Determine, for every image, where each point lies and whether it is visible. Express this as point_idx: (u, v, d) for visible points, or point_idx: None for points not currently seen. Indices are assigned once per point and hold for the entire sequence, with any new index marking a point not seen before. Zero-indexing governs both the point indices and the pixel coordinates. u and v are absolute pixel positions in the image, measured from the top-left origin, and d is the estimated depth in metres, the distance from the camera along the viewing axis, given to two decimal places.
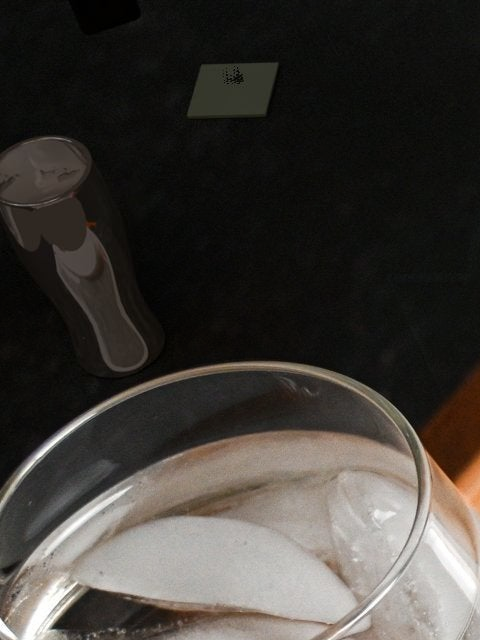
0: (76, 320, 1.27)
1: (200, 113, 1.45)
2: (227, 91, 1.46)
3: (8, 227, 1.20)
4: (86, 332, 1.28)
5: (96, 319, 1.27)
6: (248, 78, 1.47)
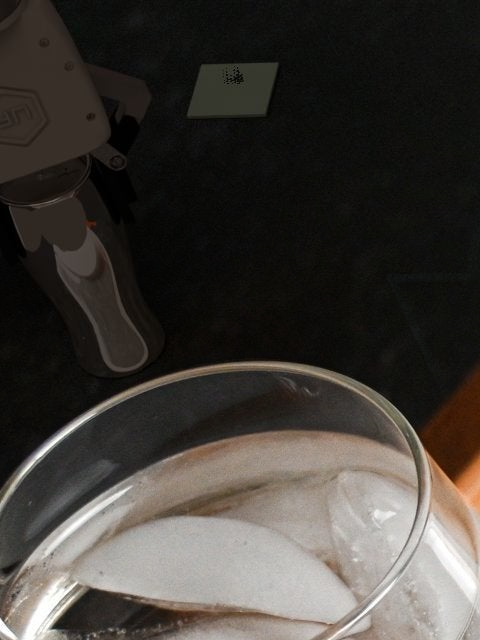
0: (76, 320, 1.27)
1: (200, 113, 1.45)
2: (227, 91, 1.46)
3: (8, 227, 1.20)
4: (86, 333, 1.28)
5: (97, 319, 1.27)
6: (248, 78, 1.47)
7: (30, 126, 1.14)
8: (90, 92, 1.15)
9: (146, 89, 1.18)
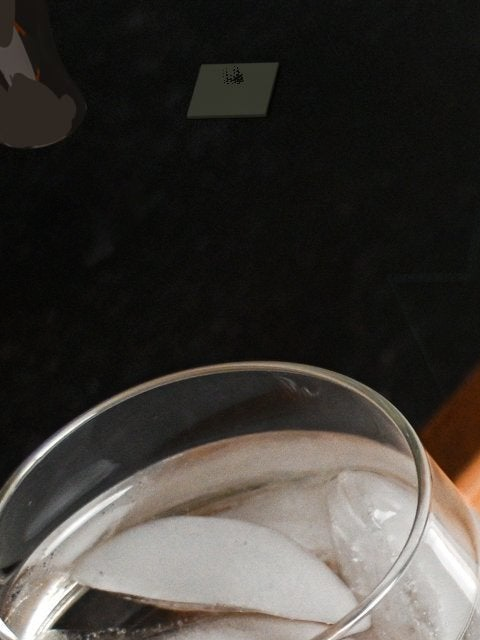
0: None
1: (200, 113, 1.45)
2: (227, 91, 1.46)
3: None
4: None
5: (6, 76, 1.14)
6: (248, 78, 1.47)
7: None
8: None
9: None
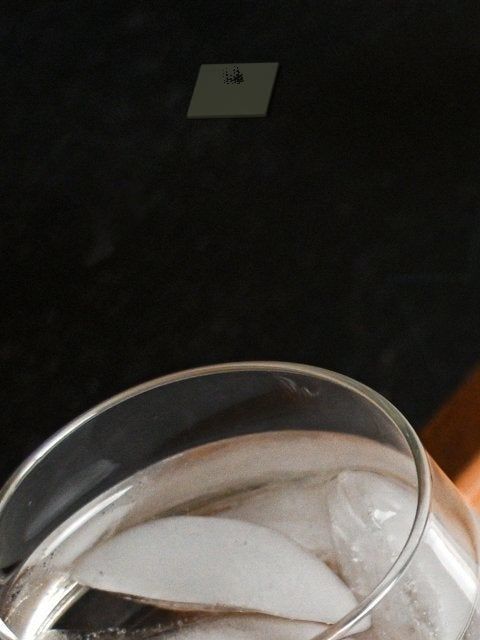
0: None
1: (200, 113, 1.45)
2: (227, 91, 1.46)
3: None
4: None
5: None
6: (248, 78, 1.47)
7: None
8: None
9: None
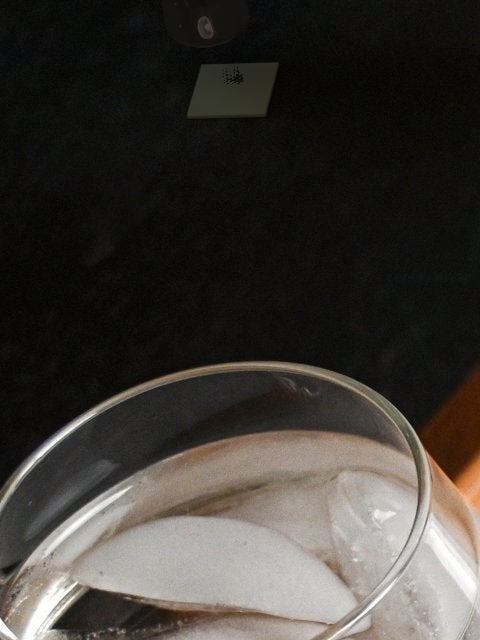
0: None
1: (200, 113, 1.45)
2: (227, 91, 1.46)
3: None
4: None
5: None
6: (248, 78, 1.47)
7: None
8: None
9: None
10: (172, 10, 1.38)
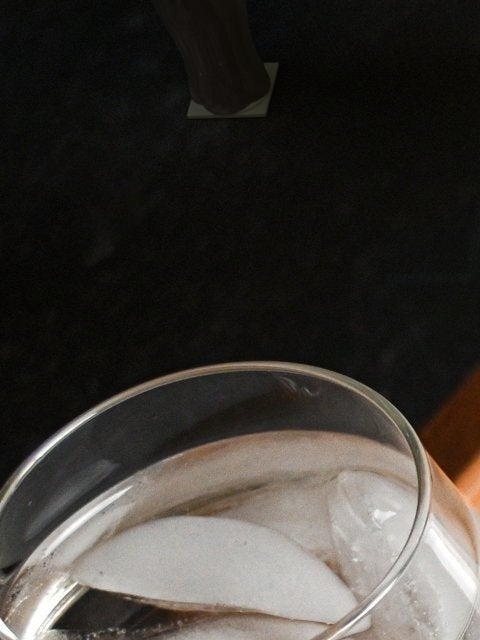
0: (195, 55, 1.40)
1: (200, 113, 1.45)
2: None
3: None
4: (203, 68, 1.41)
5: (213, 54, 1.40)
6: None
7: None
8: None
9: None
10: (197, 80, 1.43)
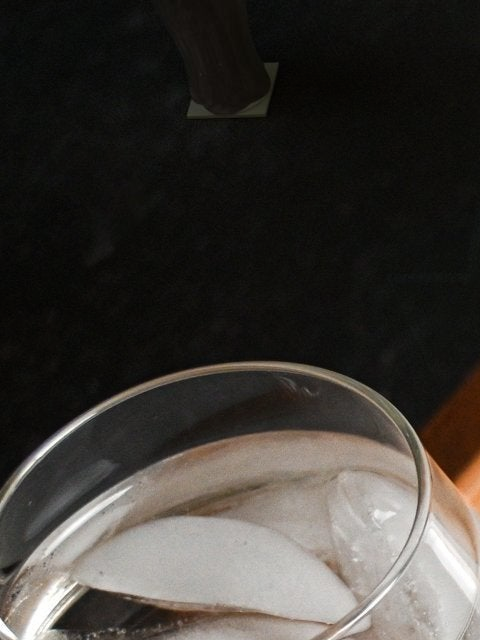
0: (195, 55, 1.40)
1: (200, 113, 1.45)
2: None
3: None
4: (203, 68, 1.41)
5: (213, 54, 1.40)
6: None
7: None
8: None
9: None
10: (197, 80, 1.43)
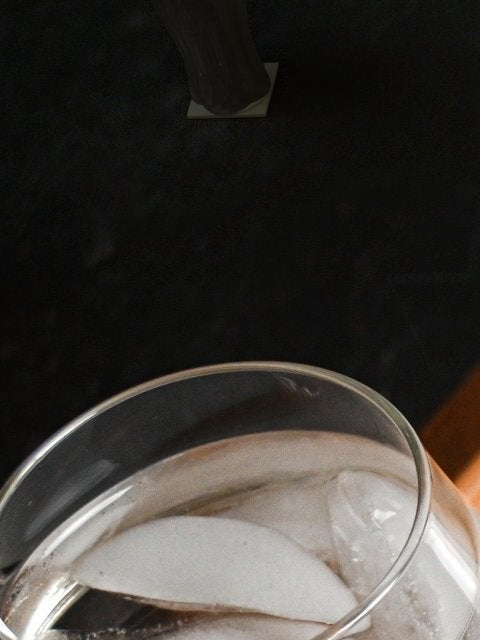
0: (195, 55, 1.40)
1: (200, 113, 1.45)
2: None
3: None
4: (203, 68, 1.41)
5: (213, 54, 1.40)
6: None
7: None
8: None
9: None
10: (197, 80, 1.43)
